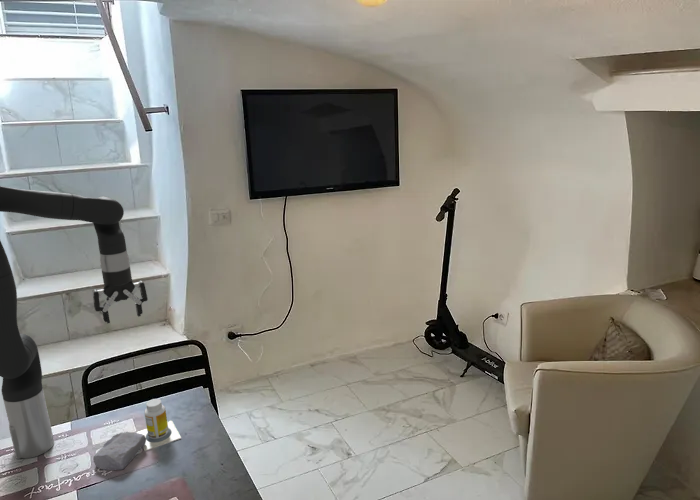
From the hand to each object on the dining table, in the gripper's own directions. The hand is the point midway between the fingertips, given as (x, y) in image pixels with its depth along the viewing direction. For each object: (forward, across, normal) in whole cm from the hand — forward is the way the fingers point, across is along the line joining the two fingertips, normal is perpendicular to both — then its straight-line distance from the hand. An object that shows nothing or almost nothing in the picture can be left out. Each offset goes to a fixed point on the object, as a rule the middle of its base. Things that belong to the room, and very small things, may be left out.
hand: (123, 319), depth 157 cm
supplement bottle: (+30, +2, -18) cm, 35 cm away
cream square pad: (+30, +2, -18) cm, 35 cm away
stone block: (+30, -9, -21) cm, 38 cm away
